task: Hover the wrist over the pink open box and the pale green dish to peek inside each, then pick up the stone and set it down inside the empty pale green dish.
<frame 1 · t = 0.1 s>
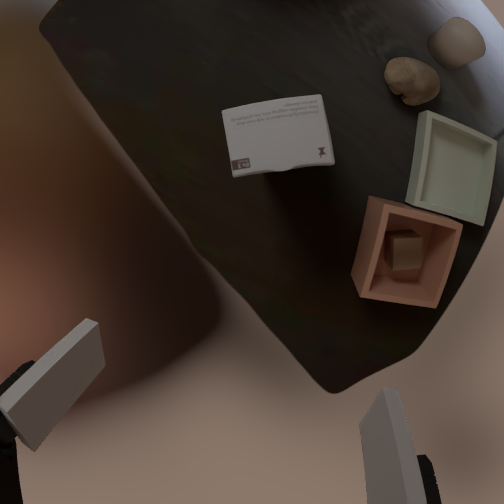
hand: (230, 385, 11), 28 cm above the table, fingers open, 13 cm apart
beige rounded capsule: (445, 51, 25), on the table
skincare box: (286, 143, 34), on the table
green dish: (450, 169, 31), on the table
pink open box: (396, 243, 36), on the table
stone: (408, 84, 29), on the table
walnut block: (398, 244, 35), point 1 cm above the table, touching pink open box
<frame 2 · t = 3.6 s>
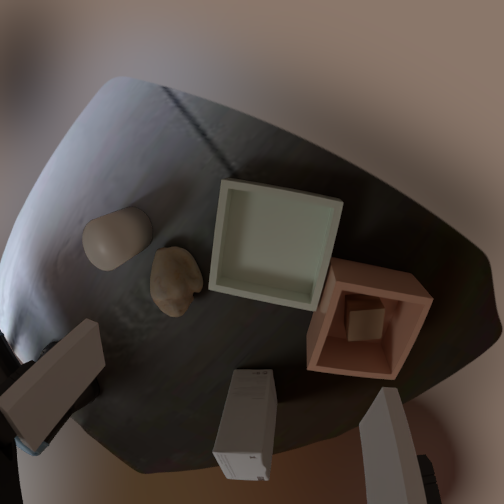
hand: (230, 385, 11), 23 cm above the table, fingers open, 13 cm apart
beige rounded capsule: (132, 229, 35), on the table
skincare box: (258, 387, 40), on the table
green dish: (274, 240, 33), on the table
pink open box: (359, 305, 34), on the table
stone: (181, 275, 36), on the table
walnut block: (360, 308, 33), point 1 cm above the table, touching pink open box
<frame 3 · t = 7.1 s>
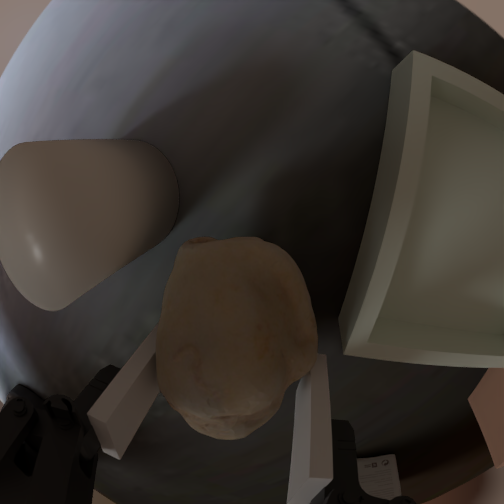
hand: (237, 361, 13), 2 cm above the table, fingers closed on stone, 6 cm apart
beige rounded capsule: (128, 196, 14), on the table
skincare box: (358, 474, 19), on the table
green dish: (476, 229, 11), on the table
stone: (245, 320, 13), point 2 cm above the table, touching gripper
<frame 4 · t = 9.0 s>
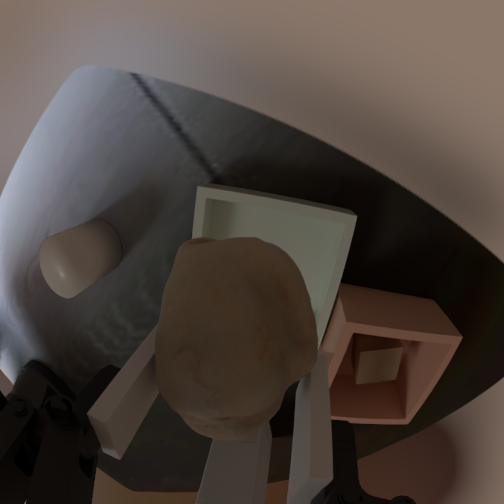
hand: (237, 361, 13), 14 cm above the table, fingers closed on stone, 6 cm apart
beige rounded capsule: (100, 245, 28), on the table
skincare box: (250, 422, 34), on the table
green dish: (266, 262, 26), on the table
pink open box: (370, 338, 27), on the table
stone: (245, 320, 13), point 13 cm above the table, touching gripper
walnut block: (371, 341, 26), point 1 cm above the table, touching pink open box
when the fingers open (3 cm above the table, at t = 11.0 s): stone drops 1 cm, resting on green dish.
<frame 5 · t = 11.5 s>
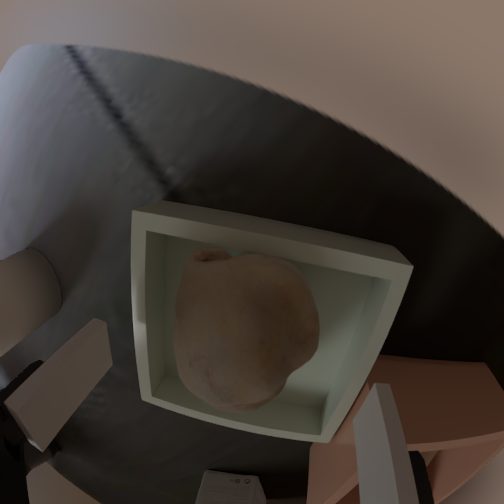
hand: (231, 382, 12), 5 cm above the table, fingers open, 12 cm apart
beige rounded capsule: (38, 282, 19), on the table
skincare box: (240, 485, 24), on the table
green dish: (256, 326, 16), on the table
pink open box: (398, 413, 17), on the table
stone: (254, 305, 14), point 2 cm above the table, touching green dish
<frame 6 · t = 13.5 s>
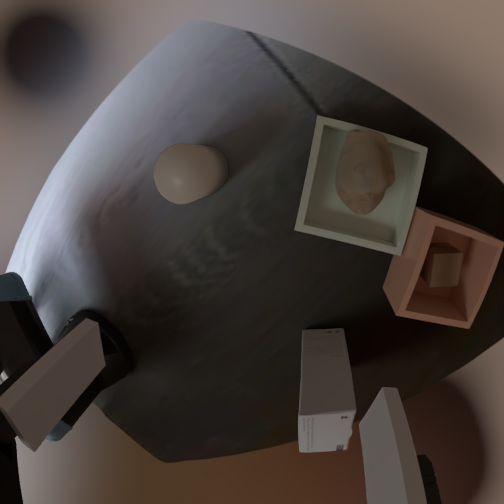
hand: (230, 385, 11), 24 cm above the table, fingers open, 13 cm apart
beige rounded capsule: (204, 170, 33), on the table
skincare box: (323, 350, 38), on the table
green dish: (359, 184, 30), on the table
pink open box: (432, 256, 31), on the table
stone: (364, 165, 28), point 2 cm above the table, touching green dish
walnut block: (434, 258, 30), point 1 cm above the table, touching pink open box
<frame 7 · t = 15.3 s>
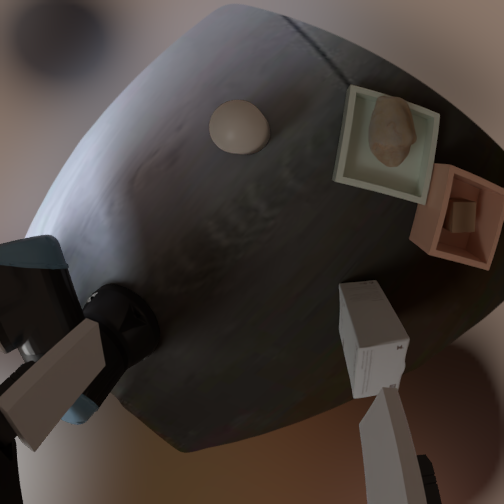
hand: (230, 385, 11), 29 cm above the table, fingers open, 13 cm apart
beige rounded capsule: (247, 132, 35), on the table
skincare box: (358, 305, 40), on the table
green dish: (385, 145, 33), on the table
pink open box: (449, 210, 33), on the table
stone: (390, 127, 30), point 2 cm above the table, touching green dish
walnut block: (450, 211, 33), point 1 cm above the table, touching pink open box
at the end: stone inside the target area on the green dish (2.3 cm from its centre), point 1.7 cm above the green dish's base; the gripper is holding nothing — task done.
